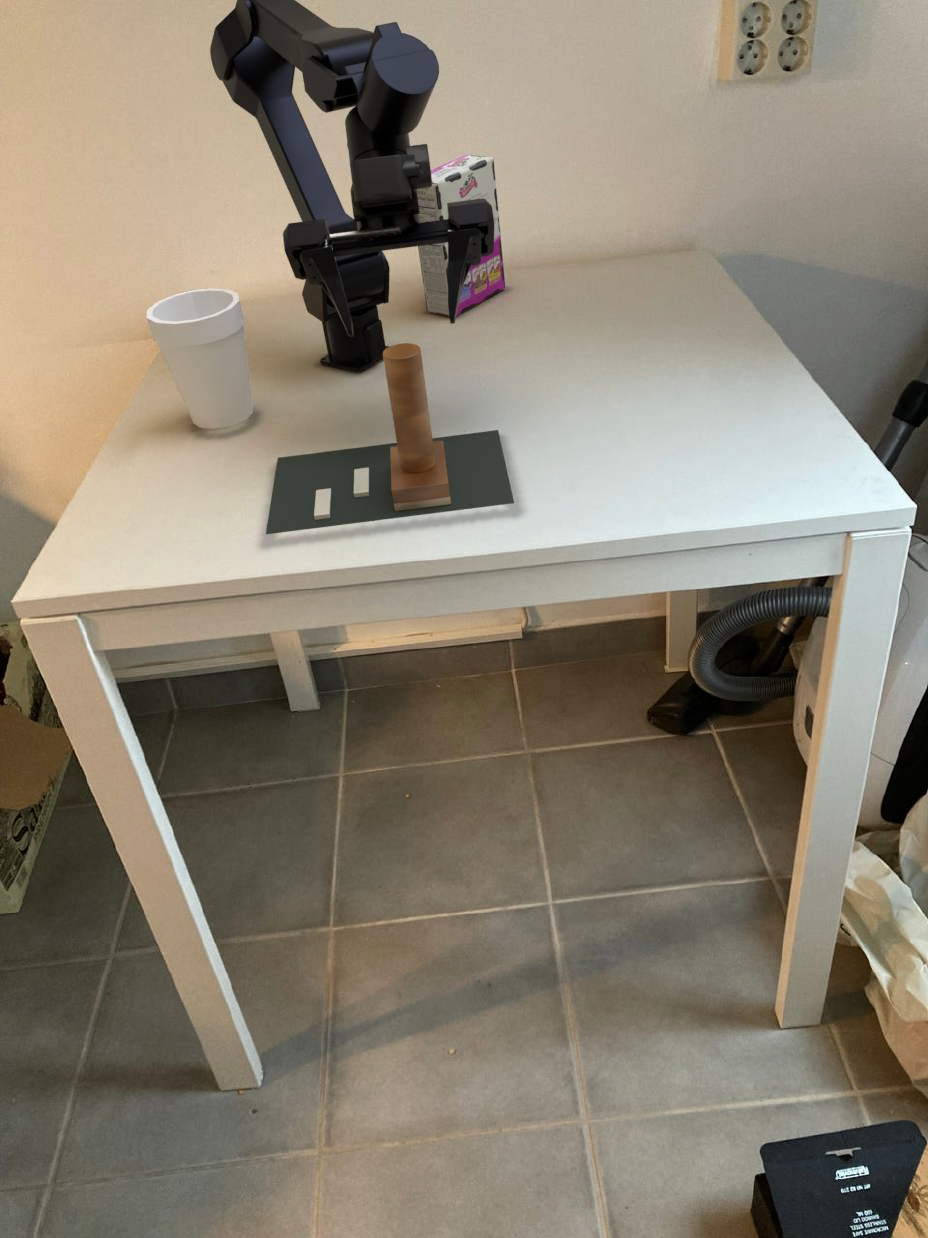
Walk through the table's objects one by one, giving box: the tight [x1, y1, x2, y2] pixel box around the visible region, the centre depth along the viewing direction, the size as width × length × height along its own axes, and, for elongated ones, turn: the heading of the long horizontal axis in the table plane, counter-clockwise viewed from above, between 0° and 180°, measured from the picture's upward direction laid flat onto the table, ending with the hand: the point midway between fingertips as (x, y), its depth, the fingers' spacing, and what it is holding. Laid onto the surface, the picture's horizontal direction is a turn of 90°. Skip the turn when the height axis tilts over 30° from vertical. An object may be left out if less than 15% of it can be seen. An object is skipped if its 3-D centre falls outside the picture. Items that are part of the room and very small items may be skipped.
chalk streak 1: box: [314, 488, 332, 520], centre depth 89 cm, size 1×4×1 cm, turn 4°
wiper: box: [382, 342, 451, 511], centre depth 86 cm, size 5×8×13 cm, turn 4°
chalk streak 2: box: [354, 468, 370, 498], centre depth 91 cm, size 1×4×1 cm, turn 4°
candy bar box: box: [417, 154, 506, 317], centre depth 123 cm, size 11×5×16 cm, turn 141°
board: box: [265, 429, 515, 535], centre depth 92 cm, size 22×14×1 cm, turn 94°
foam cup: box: [146, 287, 254, 430], centre depth 103 cm, size 10×9×13 cm
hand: (401, 328), depth 88 cm, fingers open, 9 cm apart
